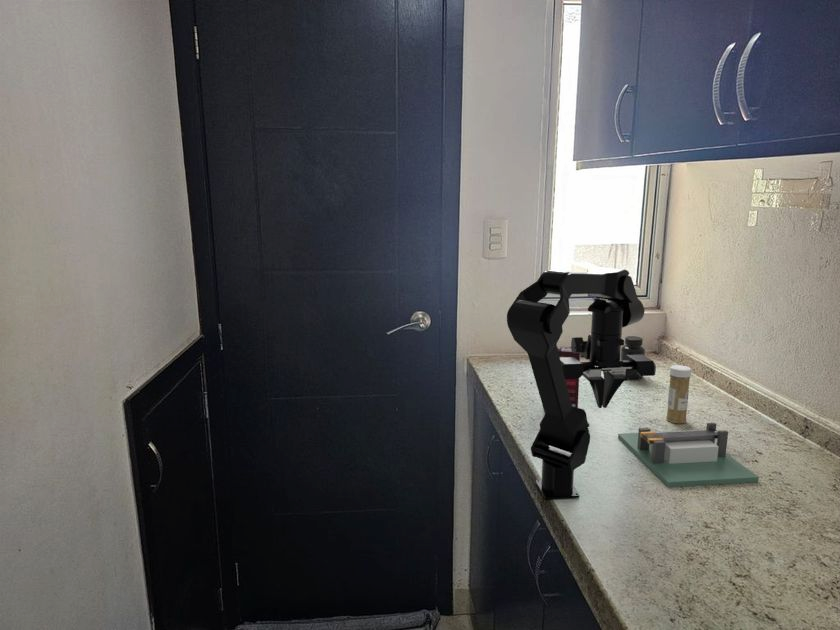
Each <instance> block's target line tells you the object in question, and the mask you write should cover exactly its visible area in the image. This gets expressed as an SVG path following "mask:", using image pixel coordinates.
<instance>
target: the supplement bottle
mask: <svg viewBox="0 0 840 630" xmlns="http://www.w3.org/2000/svg"><path fill="white" fill-rule="evenodd" d="M643 344H644V343H643V337H640V336H638V335H637V336H636V335H635V336H634V335H628V336H626V337H624V345H622V346H621V353H620V359H621V360H622V361H624V358H625V357H626V355H644V356H646V349H645V347H644V346H643ZM636 371H637V370H626V372H625V376H627V377H628V380H630V381H635V380H636V381H637V380H638V381H640V380H642V379H643V378H644V376H640V375H639V374H638V373H637V372H636Z"/></svg>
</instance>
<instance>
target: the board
mask: <svg viewBox="0 0 840 630" xmlns="http://www.w3.org/2000/svg"><path fill="white" fill-rule="evenodd" d="M712 429H715V430H717V423H716V422H707V423H706V428H705V430H712ZM681 431H682V430H666V431H655V432H656V433H662V432H681ZM684 431H698V430H697V429H691V430H689V429H688V430H684ZM717 431H718V439H717V442H716V443H715V441H716V439H700V440H681V441H663V440H653V444H649V443H648V442H647V441H645V440H644V439H643V438H642V437H641V436H640V432H651V428H649V427H638V432H628V433H627V432H626V433H618V434H617V438H618V439H619V441H621V442H622V443H623V444H624V446H626V447H627V449H629V450H630V451H631V453H633V455H635V456H636V457H637V458H638V460H640V461H641V462H642V463H643V464H644V465H645V466H646V467H647V468H648V469H649V471H650V472H652V473H653V474H654V475H655V476H656V477H657V478H658V480H660V481H661V482H662V483H663V484H664V485H665V486H666V488H674V487H677V488H678V487H690V486H691V487H692V486H693V487H694V486H695V487H696V486H709V485H726V484H730V485H731V484H741V483H742V484H745V483H759V478H760V477H759V476H758V475H757V474H755V473H754V472H752V471H751V470H750V469H748V468H747V467H746V466H744V465H743V464H742V463H741V462H739V460H736V459H735V458H734V457H732V456H731V455H729V454H728V453H727V446H728V438H729V437H728V435H729V431H728V430H725V429H724V430H723V429H722V430H717Z"/></svg>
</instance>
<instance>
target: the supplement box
mask: <svg viewBox="0 0 840 630" xmlns="http://www.w3.org/2000/svg"><path fill="white" fill-rule="evenodd" d="M557 349H558V353H559V357H560V358H562V357H574V358H576V359H577V360H578V361H579V362H581V359H580V358H581V357H580V353H572V351H571V346H557ZM565 381H566V385H567V388H568V392H569V396H570V400H571V404H572V406H573V407H577V408H579V392H580V389H579V387H580V378H579V379H565Z"/></svg>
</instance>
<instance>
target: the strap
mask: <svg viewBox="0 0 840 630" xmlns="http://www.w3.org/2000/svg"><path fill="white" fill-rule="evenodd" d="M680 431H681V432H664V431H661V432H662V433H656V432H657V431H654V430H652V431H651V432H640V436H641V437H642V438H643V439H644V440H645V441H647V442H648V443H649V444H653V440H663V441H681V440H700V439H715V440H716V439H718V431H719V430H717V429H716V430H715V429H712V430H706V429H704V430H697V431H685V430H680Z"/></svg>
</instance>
